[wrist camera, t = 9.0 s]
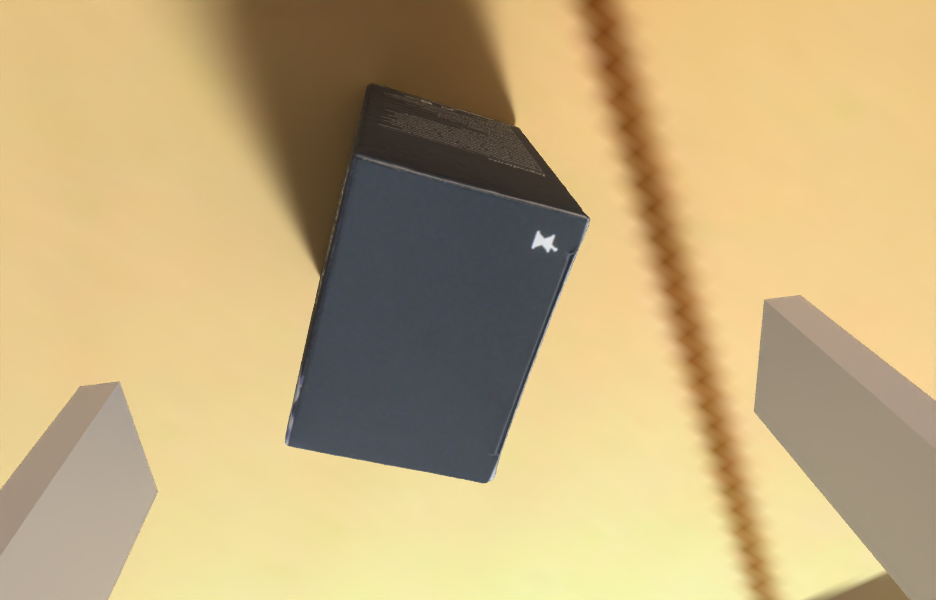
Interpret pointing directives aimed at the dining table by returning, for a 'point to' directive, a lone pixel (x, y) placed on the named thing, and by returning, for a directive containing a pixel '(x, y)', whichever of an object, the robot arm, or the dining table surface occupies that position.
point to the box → (432, 290)
